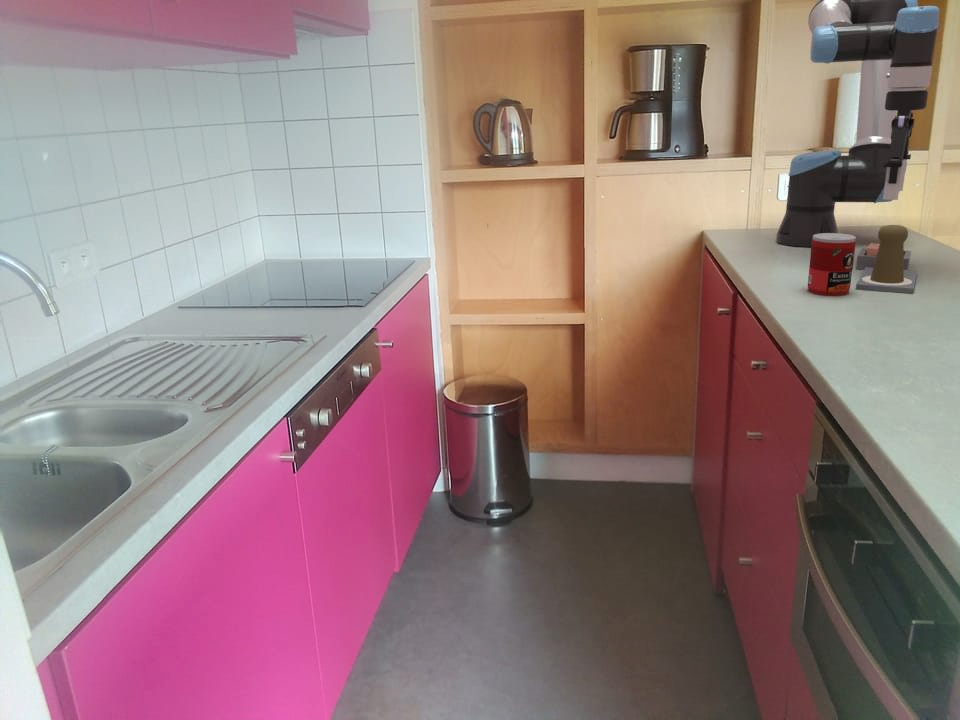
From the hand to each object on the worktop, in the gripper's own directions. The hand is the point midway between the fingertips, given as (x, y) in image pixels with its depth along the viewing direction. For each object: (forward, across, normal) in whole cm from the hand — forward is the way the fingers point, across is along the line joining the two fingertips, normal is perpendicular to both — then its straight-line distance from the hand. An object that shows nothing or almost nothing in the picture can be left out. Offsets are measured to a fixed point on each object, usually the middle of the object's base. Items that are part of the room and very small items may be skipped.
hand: (892, 194), depth 163 cm
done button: (+15, -3, 0) cm, 15 cm away
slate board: (+16, +13, +2) cm, 20 cm away
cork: (+15, +16, +2) cm, 22 cm away
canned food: (+16, +26, -8) cm, 31 cm away
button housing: (+16, -3, 0) cm, 17 cm away
